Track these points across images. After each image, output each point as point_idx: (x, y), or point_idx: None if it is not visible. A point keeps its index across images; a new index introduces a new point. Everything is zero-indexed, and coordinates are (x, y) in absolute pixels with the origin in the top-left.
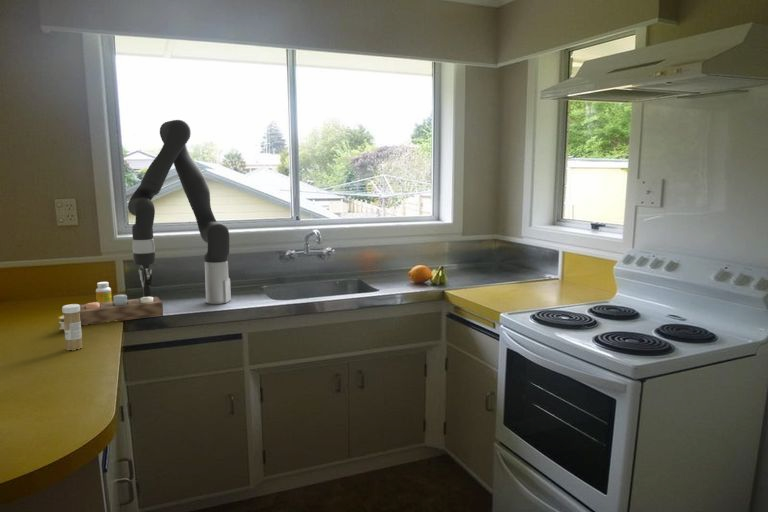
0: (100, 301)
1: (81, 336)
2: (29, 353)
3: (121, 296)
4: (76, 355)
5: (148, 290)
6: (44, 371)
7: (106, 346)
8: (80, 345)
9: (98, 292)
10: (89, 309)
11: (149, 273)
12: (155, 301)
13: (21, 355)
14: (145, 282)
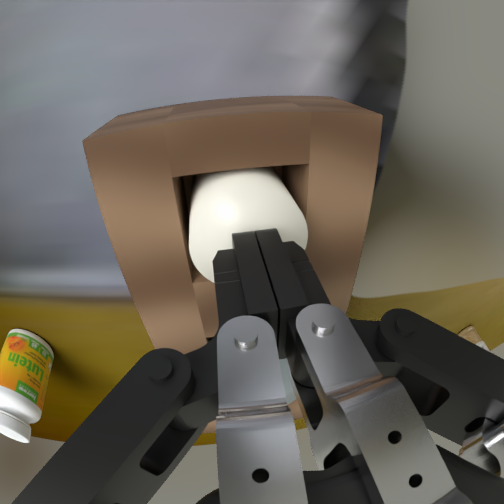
0: (48, 376)
1: (483, 342)
2: None
3: (286, 392)
4: (488, 321)
5: (319, 286)
6: (496, 334)
7: (495, 291)
8: (475, 330)
9: (41, 412)
10: (297, 408)
11: (494, 474)
12: (315, 163)
13: None
14: (442, 387)
